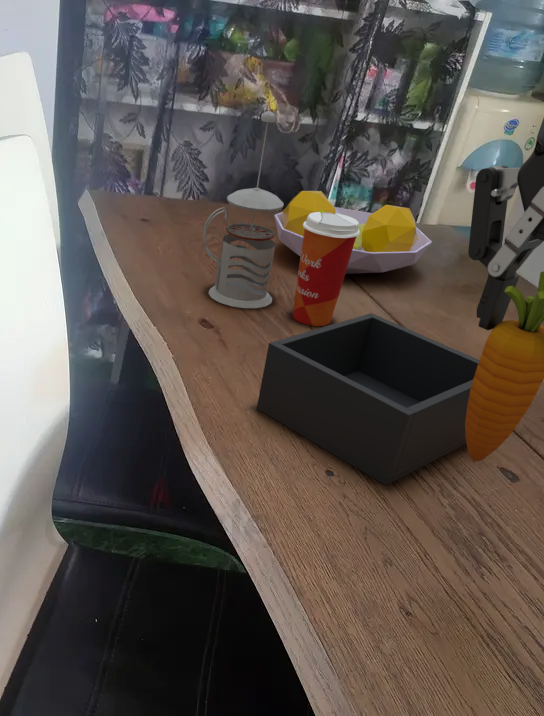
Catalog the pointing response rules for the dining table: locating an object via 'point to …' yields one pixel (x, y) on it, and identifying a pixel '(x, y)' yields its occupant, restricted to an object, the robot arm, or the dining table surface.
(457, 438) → the open dark gray box
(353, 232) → the paper cup
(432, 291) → the dining table surface
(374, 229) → the fruit bowl
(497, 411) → the carrot
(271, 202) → the french press
